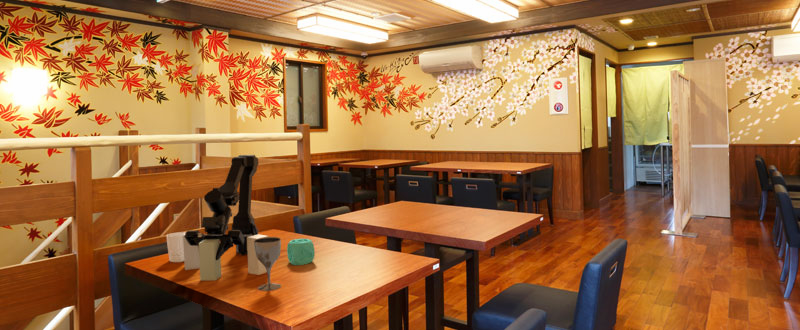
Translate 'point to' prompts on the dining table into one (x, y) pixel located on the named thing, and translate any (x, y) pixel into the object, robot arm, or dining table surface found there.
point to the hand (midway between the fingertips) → (208, 259)
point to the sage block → (209, 259)
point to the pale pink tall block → (190, 255)
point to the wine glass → (268, 257)
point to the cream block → (254, 256)
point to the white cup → (175, 247)
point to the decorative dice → (300, 251)
